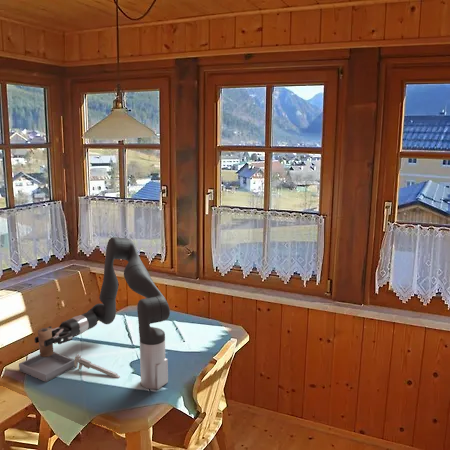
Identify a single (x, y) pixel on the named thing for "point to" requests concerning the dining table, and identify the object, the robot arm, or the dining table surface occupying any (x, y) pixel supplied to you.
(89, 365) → the caliper
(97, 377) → the dining table surface
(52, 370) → the tray
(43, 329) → the cylinder
